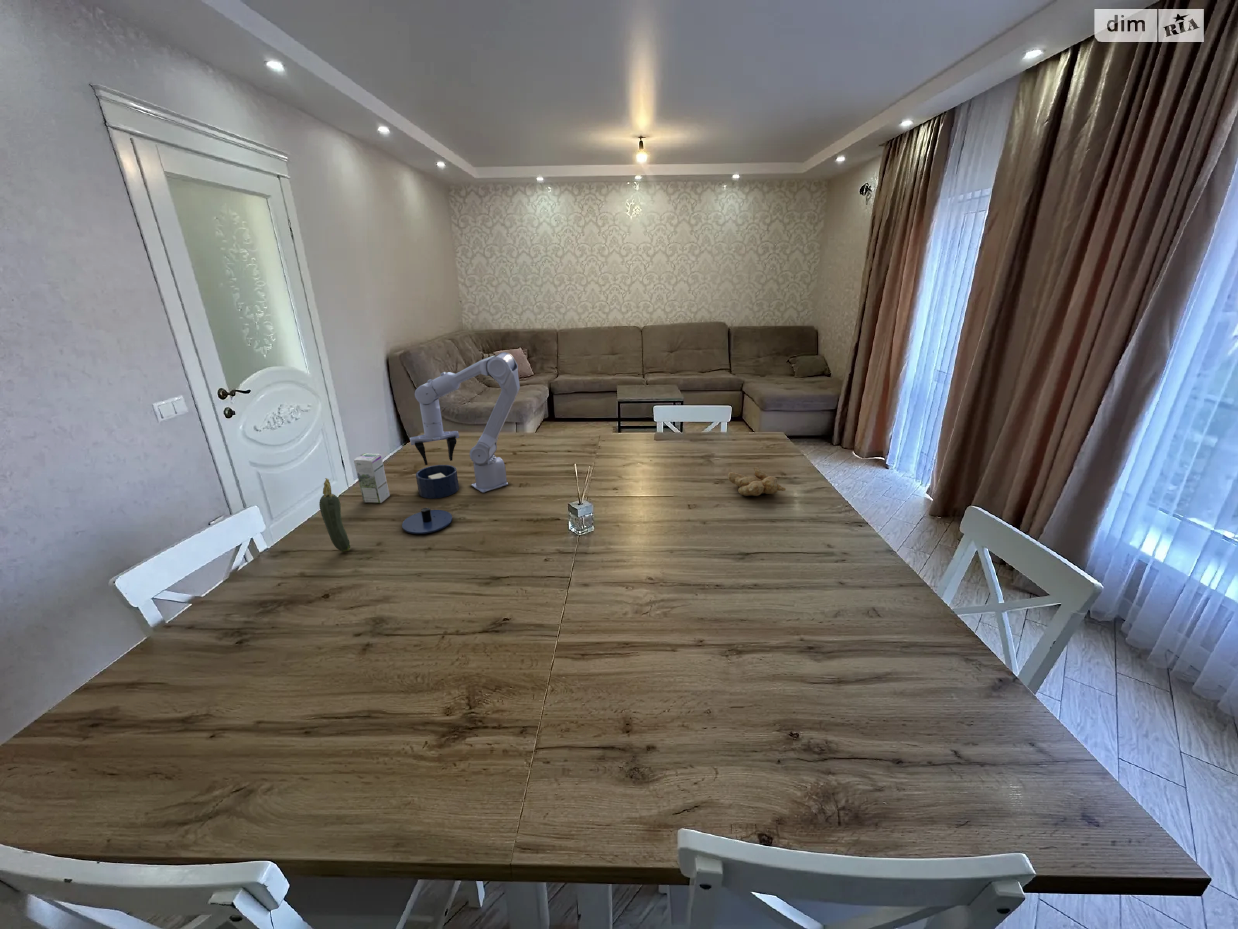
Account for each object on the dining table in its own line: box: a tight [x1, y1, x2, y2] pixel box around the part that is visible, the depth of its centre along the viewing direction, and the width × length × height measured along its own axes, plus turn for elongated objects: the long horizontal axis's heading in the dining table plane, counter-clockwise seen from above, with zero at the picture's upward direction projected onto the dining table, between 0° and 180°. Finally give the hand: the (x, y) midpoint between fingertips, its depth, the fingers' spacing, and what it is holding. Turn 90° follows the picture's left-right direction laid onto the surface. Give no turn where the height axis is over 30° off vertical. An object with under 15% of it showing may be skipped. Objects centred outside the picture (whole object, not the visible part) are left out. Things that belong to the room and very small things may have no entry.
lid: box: [401, 507, 453, 535], centre depth 135 cm, size 13×13×5 cm
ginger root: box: [726, 466, 787, 497], centre depth 152 cm, size 16×16×8 cm
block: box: [428, 473, 445, 479], centre depth 155 cm, size 4×4×4 cm
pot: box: [415, 464, 460, 499], centre depth 155 cm, size 12×12×6 cm
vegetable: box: [318, 477, 351, 553], centre depth 118 cm, size 4×4×20 cm
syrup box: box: [353, 453, 391, 504], centre depth 148 cm, size 6×6×14 cm
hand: (438, 461), depth 156 cm, fingers open, 7 cm apart
